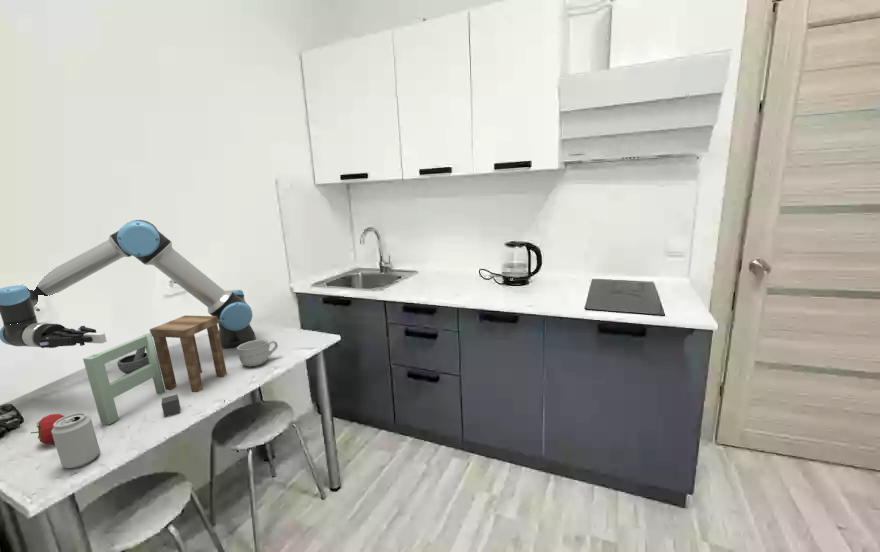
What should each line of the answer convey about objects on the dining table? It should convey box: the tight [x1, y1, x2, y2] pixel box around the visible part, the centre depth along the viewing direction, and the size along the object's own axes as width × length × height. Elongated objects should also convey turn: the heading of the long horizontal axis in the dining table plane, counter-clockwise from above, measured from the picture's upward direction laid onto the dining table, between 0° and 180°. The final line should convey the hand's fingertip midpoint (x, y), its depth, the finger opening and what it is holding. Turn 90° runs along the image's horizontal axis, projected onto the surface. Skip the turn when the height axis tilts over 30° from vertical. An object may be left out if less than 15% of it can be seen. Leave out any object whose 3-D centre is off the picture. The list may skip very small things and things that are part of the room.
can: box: [51, 412, 101, 469], centre depth 103 cm, size 8×8×12 cm
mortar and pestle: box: [116, 346, 150, 375], centre depth 152 cm, size 11×9×12 cm
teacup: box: [236, 339, 278, 367], centre depth 157 cm, size 14×11×8 cm
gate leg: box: [82, 333, 166, 425], centre depth 127 cm, size 20×3×21 cm, turn 166°
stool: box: [149, 315, 228, 393], centre depth 142 cm, size 14×14×22 cm
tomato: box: [30, 413, 66, 445], centre depth 113 cm, size 8×8×8 cm
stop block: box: [161, 393, 181, 418], centre depth 125 cm, size 4×4×4 cm
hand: (103, 338), depth 124 cm, fingers closed
